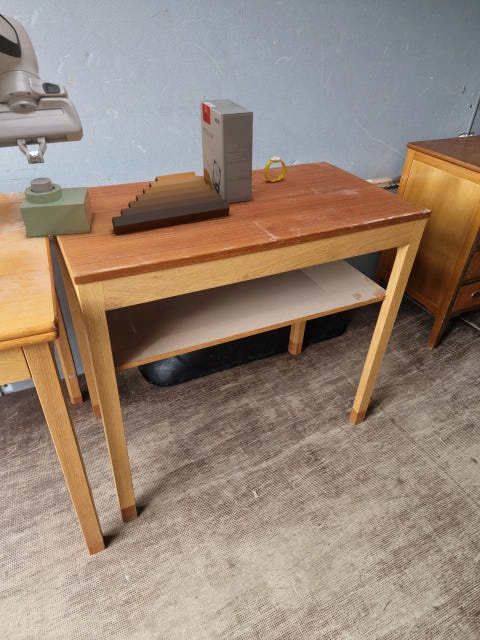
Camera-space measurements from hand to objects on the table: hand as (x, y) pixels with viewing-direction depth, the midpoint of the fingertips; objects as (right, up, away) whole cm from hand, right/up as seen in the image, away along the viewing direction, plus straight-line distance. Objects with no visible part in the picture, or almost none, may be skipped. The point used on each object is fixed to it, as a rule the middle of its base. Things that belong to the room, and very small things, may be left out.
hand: (36, 162), depth 87 cm
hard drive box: (+37, +1, +24) cm, 44 cm away
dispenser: (+2, -11, +7) cm, 13 cm away
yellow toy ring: (+49, +6, +31) cm, 59 cm away
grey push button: (0, -5, +3) cm, 6 cm away
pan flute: (+21, -5, +16) cm, 27 cm away
